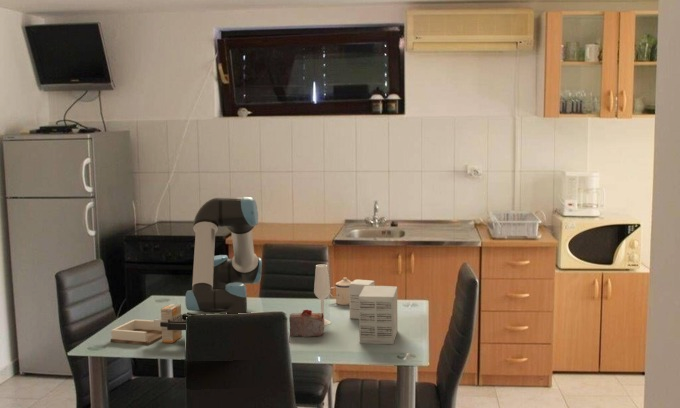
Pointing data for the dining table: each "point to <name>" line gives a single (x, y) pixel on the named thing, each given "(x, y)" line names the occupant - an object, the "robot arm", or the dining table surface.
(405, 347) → the dining table surface
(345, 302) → the teacup with lid
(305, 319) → the food item
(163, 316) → the supplement box
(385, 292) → the supplement box
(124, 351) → the dining table surface
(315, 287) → the champagne flute
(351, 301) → the supplement box
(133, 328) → the walled holder
